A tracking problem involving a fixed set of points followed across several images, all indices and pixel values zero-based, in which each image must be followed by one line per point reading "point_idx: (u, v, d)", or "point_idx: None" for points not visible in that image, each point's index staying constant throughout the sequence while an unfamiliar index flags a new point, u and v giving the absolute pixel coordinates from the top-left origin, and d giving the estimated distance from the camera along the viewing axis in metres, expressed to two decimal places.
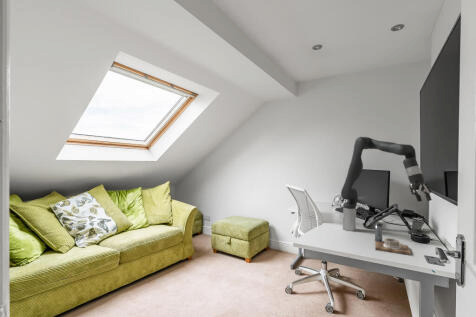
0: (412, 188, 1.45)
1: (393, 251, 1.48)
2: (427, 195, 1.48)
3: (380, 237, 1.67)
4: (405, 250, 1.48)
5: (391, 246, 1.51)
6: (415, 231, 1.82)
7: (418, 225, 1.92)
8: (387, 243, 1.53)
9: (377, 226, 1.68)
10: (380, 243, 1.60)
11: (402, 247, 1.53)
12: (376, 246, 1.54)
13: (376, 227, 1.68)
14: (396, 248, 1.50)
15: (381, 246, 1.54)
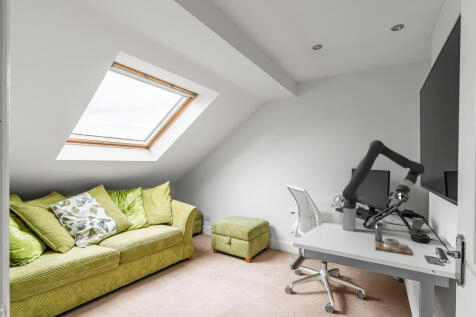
0: (407, 198, 1.66)
1: (393, 251, 1.48)
2: (390, 200, 1.76)
3: (380, 237, 1.67)
4: (405, 250, 1.48)
5: (391, 246, 1.51)
6: (415, 231, 1.82)
7: (418, 225, 1.92)
8: (387, 243, 1.53)
9: (377, 226, 1.68)
10: (380, 243, 1.60)
11: (402, 247, 1.53)
12: (376, 246, 1.54)
13: (376, 227, 1.68)
14: (396, 248, 1.50)
15: (381, 246, 1.54)
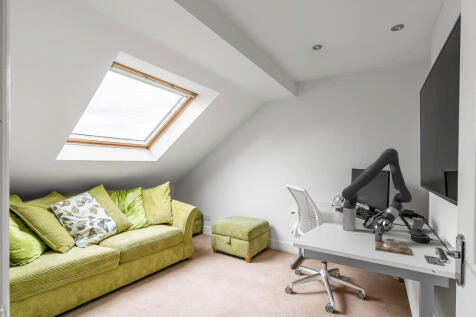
0: (390, 228, 1.64)
1: (393, 251, 1.48)
2: None
3: (380, 237, 1.67)
4: (405, 250, 1.48)
5: (391, 246, 1.51)
6: (415, 231, 1.83)
7: (419, 225, 1.93)
8: (387, 243, 1.53)
9: (377, 226, 1.68)
10: (380, 243, 1.60)
11: (402, 247, 1.53)
12: (376, 246, 1.54)
13: (376, 227, 1.68)
14: (396, 248, 1.50)
15: (381, 246, 1.54)
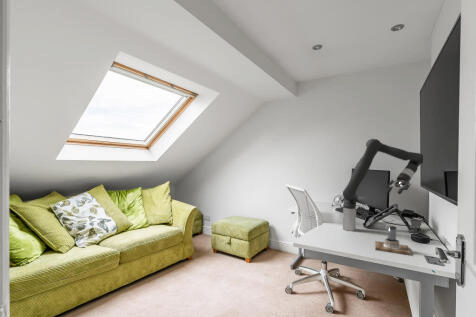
0: (408, 185, 1.70)
1: (393, 251, 1.48)
2: (390, 188, 1.79)
3: (394, 241, 1.52)
4: (405, 250, 1.48)
5: (391, 246, 1.51)
6: (415, 230, 1.85)
7: (417, 224, 1.96)
8: (387, 243, 1.53)
9: (390, 229, 1.53)
10: (380, 243, 1.60)
11: (402, 247, 1.53)
12: (376, 246, 1.54)
13: (389, 230, 1.54)
14: (396, 248, 1.50)
15: (381, 246, 1.54)
